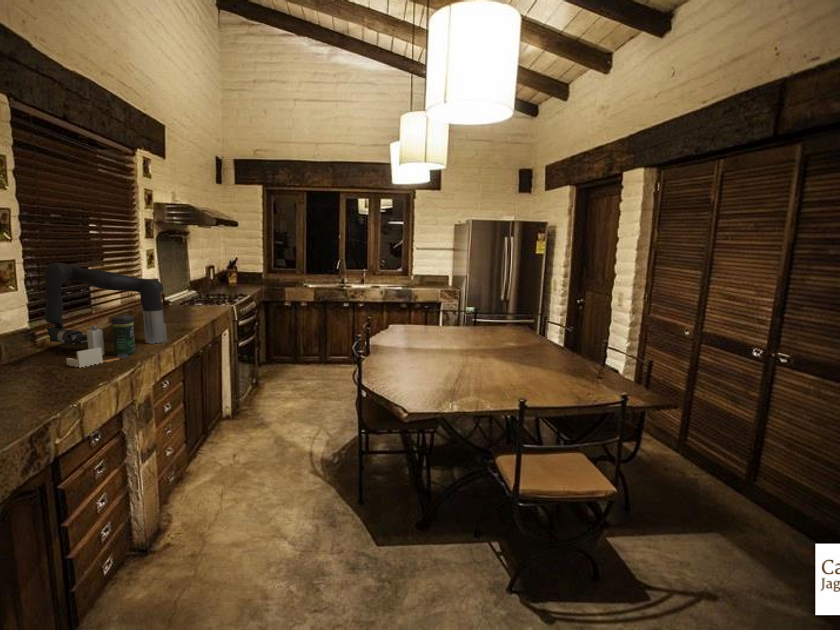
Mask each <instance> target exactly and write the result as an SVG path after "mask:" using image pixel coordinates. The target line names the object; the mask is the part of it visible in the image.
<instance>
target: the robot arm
mask: <svg viewBox="0 0 840 630" xmlns="http://www.w3.org/2000/svg"><path fill="white" fill-rule="evenodd" d="M44 279H45V293H46V294H45V295H46V297H45V301H46V302H45V311H44V312H45V313H44V321H45V320H46V321H47V322H46V321H45V322H46V323H49V324H50V323H51V324H53V325H54V324H55V325H54V326H55V327H54V326H50V327H51V328H47V330H48V335H49V336H50V341H51V342H50V343H52V342H55V343H61V344H62V345H67V346H74V347H75V346H79V345H81V344H82V343H86V342H87V343H88V339H87V333H86V334H85V333H83V332H82V331H81V330H77V329H70V328H65V327H64V324H63V323H64V322H63V315H64V314H63V313H64V312H63V311H64V303H63V299H62V288H63V287H62V286H63V284H64V283H63V282H75V283H76V282H77V283H83V284H85V285H88V286H91V287H94V288H96V289H97V288H98V289H101V290H107V291H114V292H115V291H118V292H119V291H120V292H136V293H139V295H140V305H141V308H142V312H143V313H142V315H143V326H144V327H143V328H144V339H145V344H147V343H149V344H150V345H155V343H157V344H163V343H165V342H167V341H168V337H167V336H168V335H167V323H165V321H164V320H165V317H164V305H163V304H162V301H161V294H162V293H163V291H164V286H163V284H162V282H161V281H160V280H157V279H153V278H140V277H133V276H130V275H125V274H121V273H119V272H118V273H116V272H111V271H107V270H102V269H101V270H99V269H94V268H93V269H91V268H83V267H79V266H75V265H72V264H68V263H65V262H64V263H63V262H54V263H50V264H48V265H47V266H46V267H45V269H44ZM162 342H163V343H162ZM149 344H148V345H149Z"/></svg>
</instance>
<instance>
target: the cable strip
mask: <svg viewBox="0 0 840 630" xmlns="http://www.w3.org/2000/svg"><path fill="white" fill-rule="evenodd" d="M114 360H115V361H119V360H122V359H121V358H118V357H116V358H111V359H103V363H110V362H114Z"/></svg>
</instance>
